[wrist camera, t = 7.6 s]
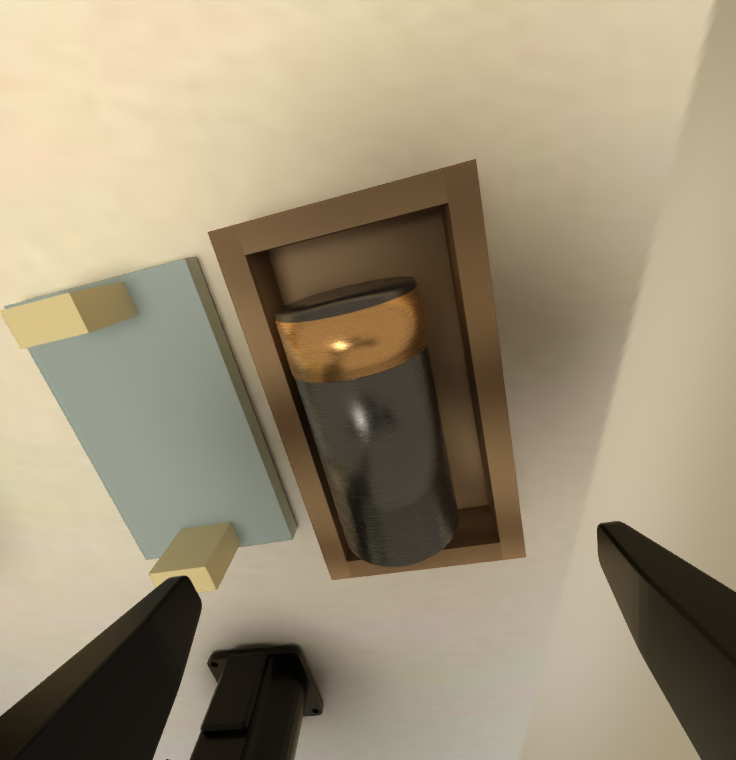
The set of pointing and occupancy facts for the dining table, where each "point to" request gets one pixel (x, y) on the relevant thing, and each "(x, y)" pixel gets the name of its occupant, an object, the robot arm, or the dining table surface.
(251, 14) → the dining table surface
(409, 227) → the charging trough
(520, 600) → the dining table surface
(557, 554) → the dining table surface
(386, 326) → the battery cell
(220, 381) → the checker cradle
